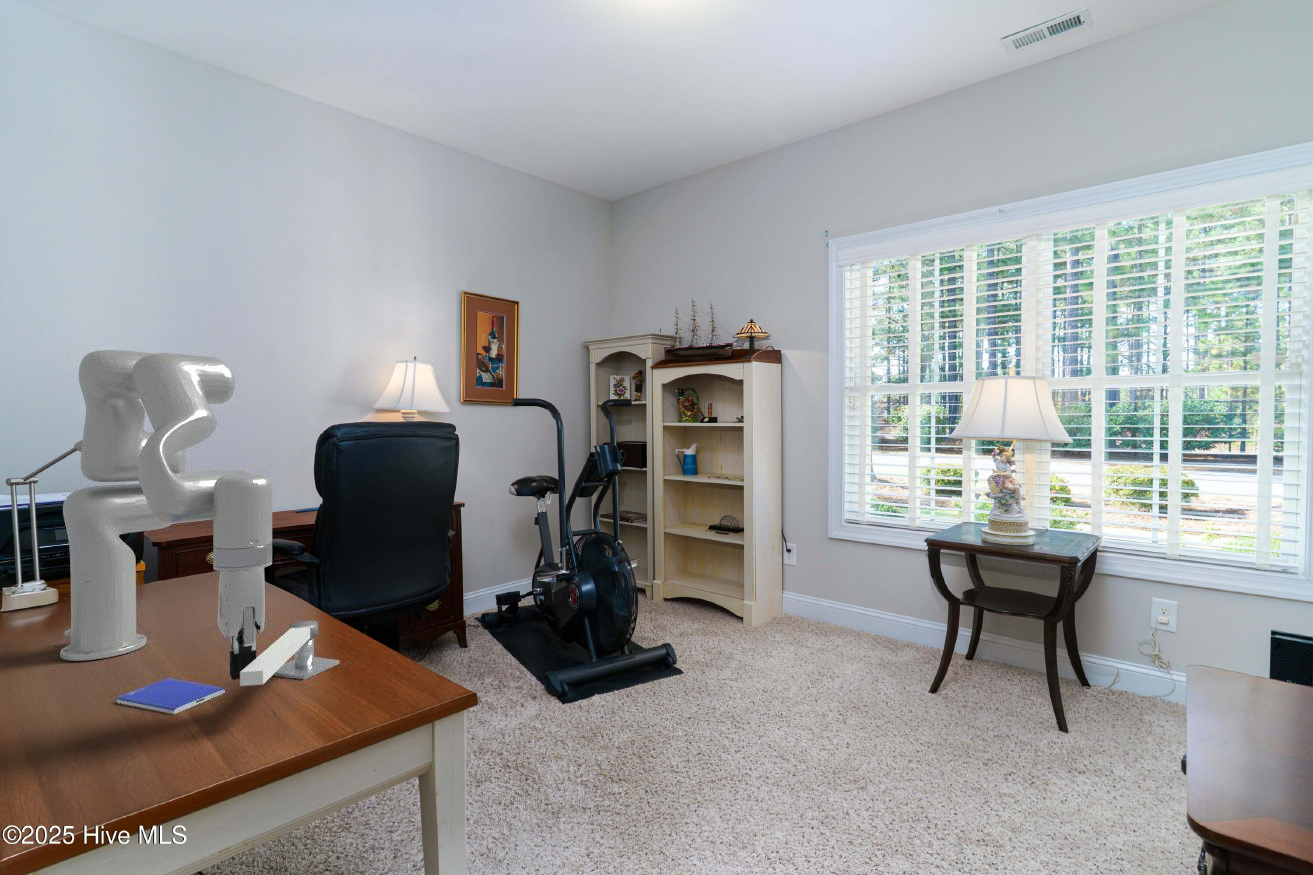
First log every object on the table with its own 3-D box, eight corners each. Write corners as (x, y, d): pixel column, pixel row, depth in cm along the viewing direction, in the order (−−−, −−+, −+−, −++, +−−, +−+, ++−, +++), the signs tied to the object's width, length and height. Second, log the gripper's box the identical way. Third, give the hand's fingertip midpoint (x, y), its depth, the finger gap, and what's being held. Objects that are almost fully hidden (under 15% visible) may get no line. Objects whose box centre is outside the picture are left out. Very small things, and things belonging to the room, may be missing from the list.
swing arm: (294, 632, 117) (294, 621, 117) (321, 630, 118) (321, 619, 118) (234, 686, 93) (234, 672, 93) (268, 683, 93) (268, 670, 93)
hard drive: (116, 696, 101) (173, 707, 97) (170, 676, 109) (225, 686, 105) (116, 706, 101) (173, 717, 97) (170, 686, 109) (225, 696, 105)
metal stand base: (267, 674, 112) (267, 641, 112) (304, 658, 120) (304, 628, 120) (303, 679, 110) (303, 646, 110) (339, 663, 118) (339, 632, 118)
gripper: (206, 551, 101) (206, 667, 102) (221, 568, 90) (220, 699, 90) (262, 545, 106) (261, 656, 106) (282, 561, 95) (281, 685, 95)
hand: (243, 675), depth 98 cm, fingers closed
